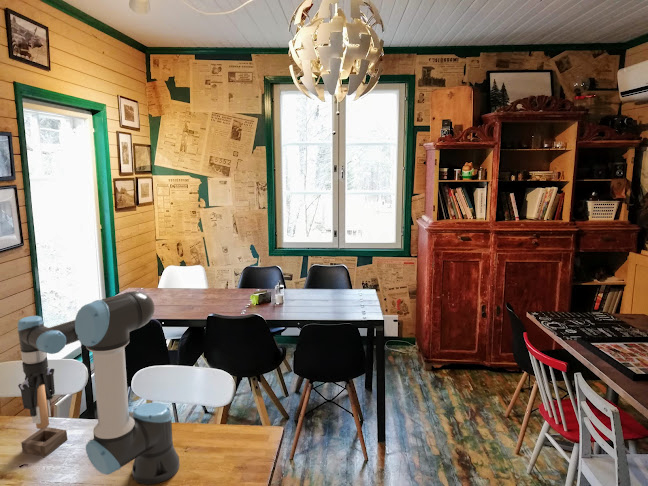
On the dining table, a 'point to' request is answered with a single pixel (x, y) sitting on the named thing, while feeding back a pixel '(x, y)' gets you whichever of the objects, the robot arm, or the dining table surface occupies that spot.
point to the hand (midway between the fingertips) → (42, 419)
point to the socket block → (44, 448)
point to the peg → (42, 407)
